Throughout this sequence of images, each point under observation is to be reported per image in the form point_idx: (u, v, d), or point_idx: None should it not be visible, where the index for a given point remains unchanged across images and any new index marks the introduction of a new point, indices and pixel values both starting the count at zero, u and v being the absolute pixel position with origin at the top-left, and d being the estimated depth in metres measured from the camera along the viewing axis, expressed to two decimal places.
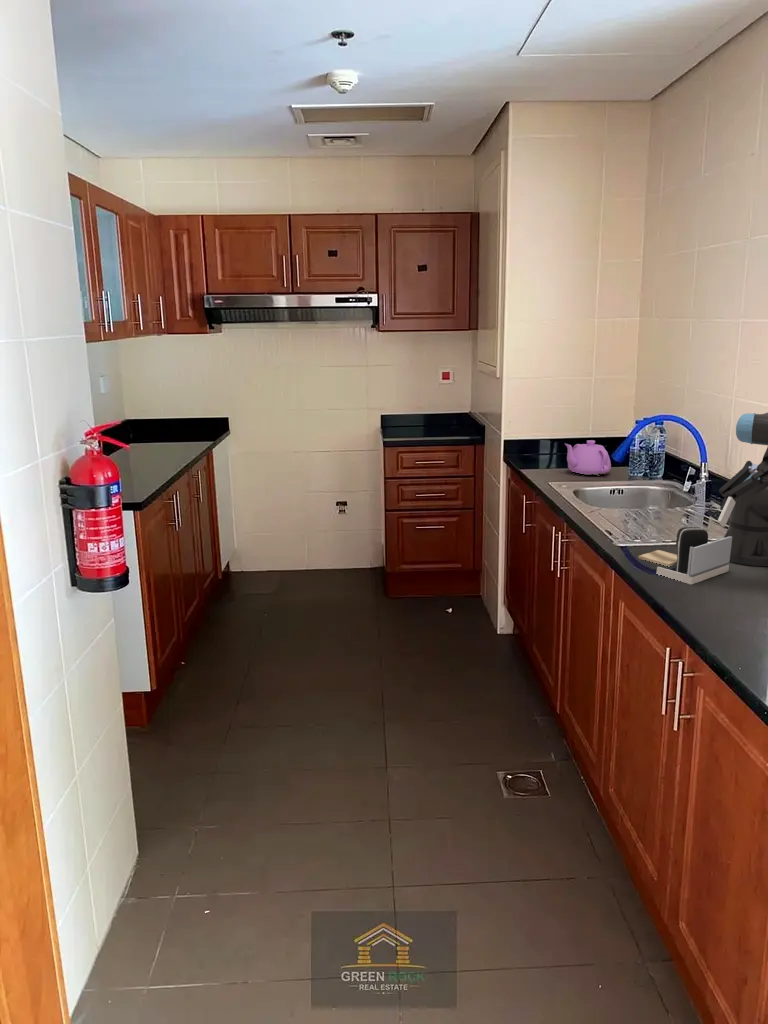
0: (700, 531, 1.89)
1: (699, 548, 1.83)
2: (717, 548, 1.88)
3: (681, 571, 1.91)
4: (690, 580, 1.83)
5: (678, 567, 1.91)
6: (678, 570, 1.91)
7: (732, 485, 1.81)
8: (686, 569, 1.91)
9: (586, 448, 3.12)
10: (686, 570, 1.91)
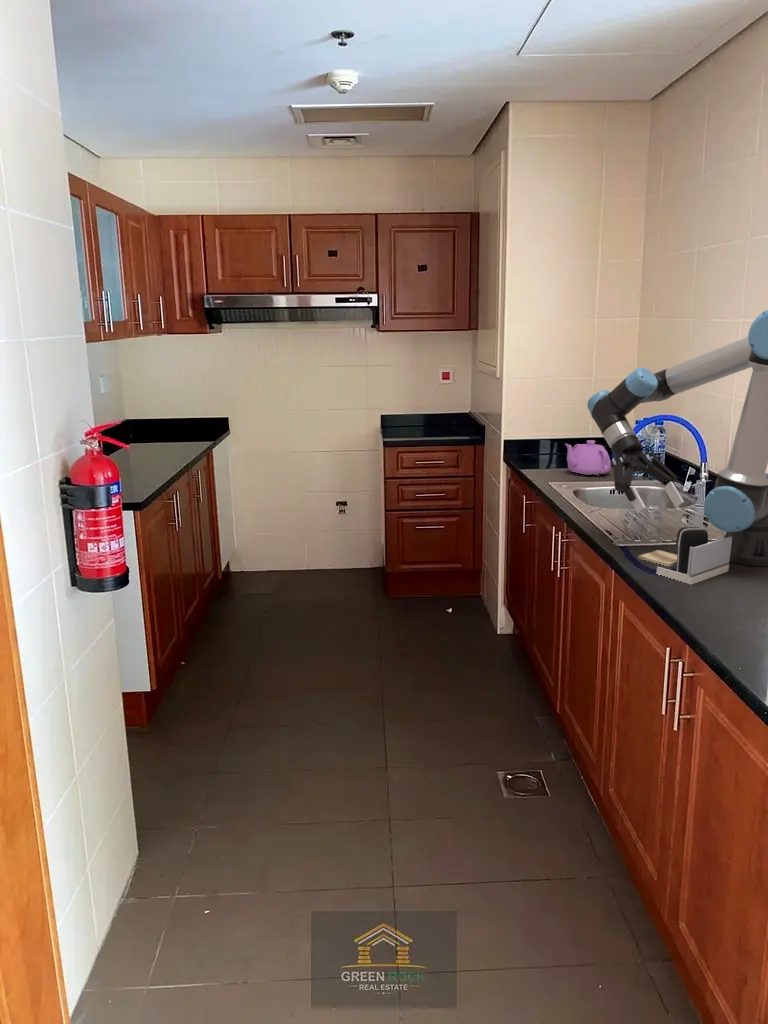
0: (700, 531, 1.89)
1: (699, 548, 1.83)
2: (717, 548, 1.88)
3: (681, 571, 1.91)
4: (690, 580, 1.83)
5: (678, 567, 1.91)
6: (678, 570, 1.91)
7: None
8: (686, 569, 1.91)
9: (586, 448, 3.12)
10: (686, 570, 1.91)
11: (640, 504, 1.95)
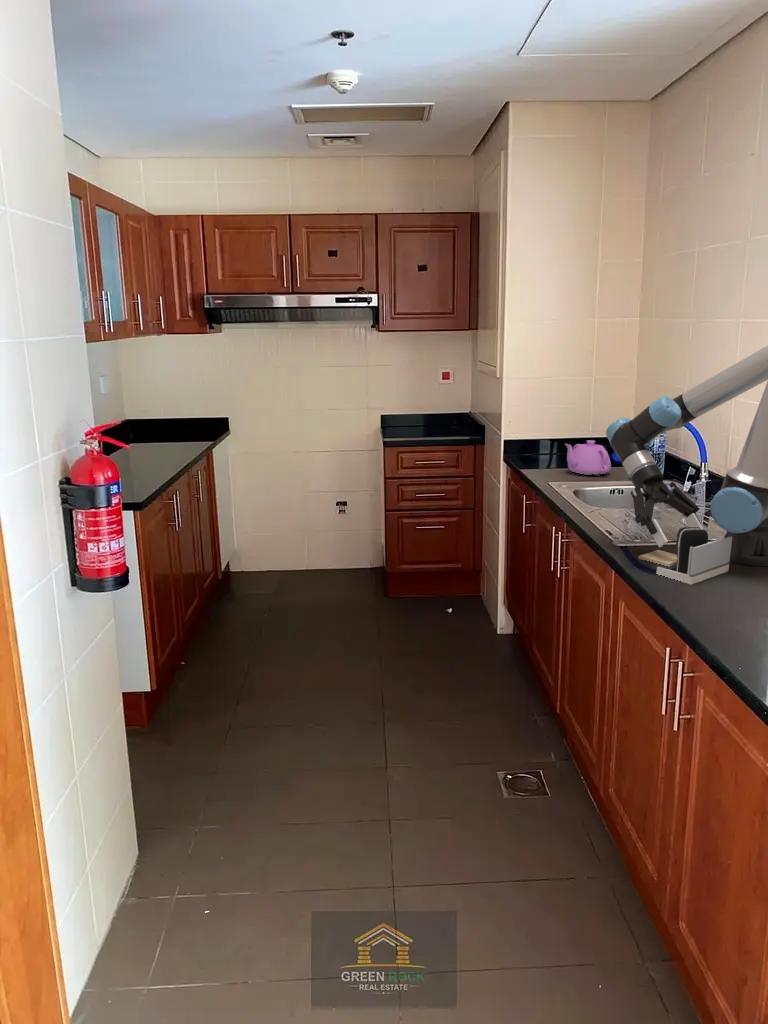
0: (700, 531, 1.89)
1: (699, 548, 1.83)
2: (717, 548, 1.88)
3: (681, 571, 1.91)
4: (690, 580, 1.83)
5: (678, 567, 1.91)
6: (678, 570, 1.91)
7: None
8: (686, 569, 1.91)
9: (586, 448, 3.12)
10: (686, 570, 1.91)
11: (662, 538, 1.89)
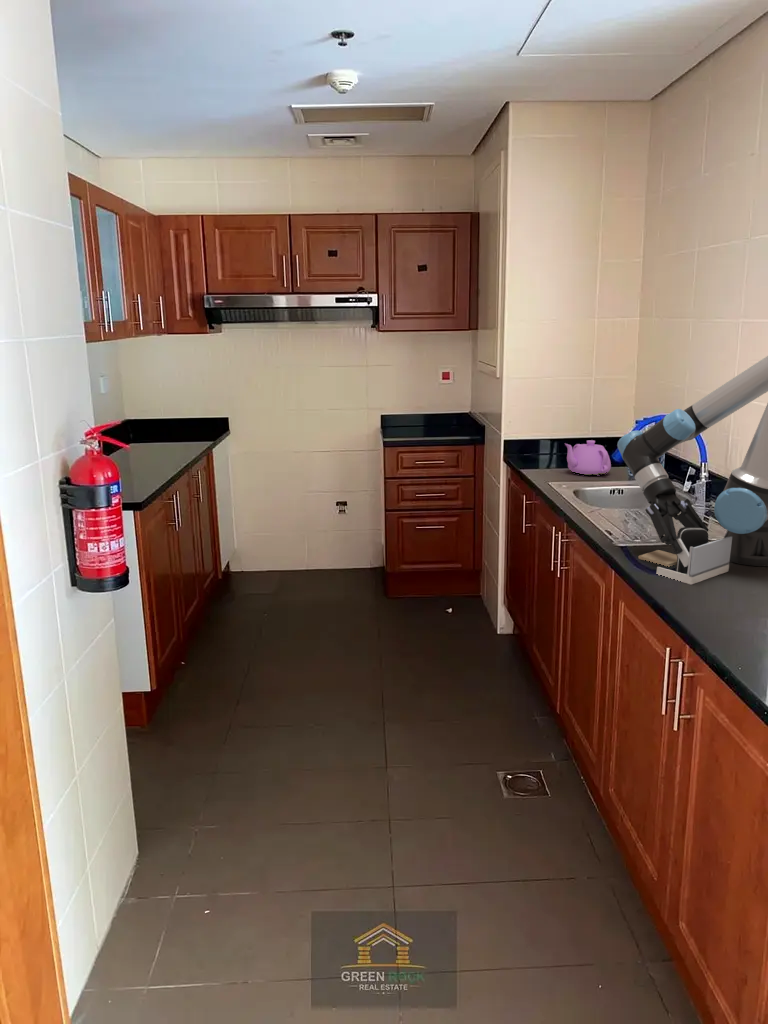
0: (700, 531, 1.89)
1: (699, 548, 1.83)
2: (717, 548, 1.88)
3: (681, 571, 1.91)
4: (690, 580, 1.83)
5: (678, 567, 1.91)
6: (678, 570, 1.91)
7: None
8: (686, 569, 1.91)
9: (586, 448, 3.12)
10: (686, 570, 1.91)
11: (687, 557, 1.87)
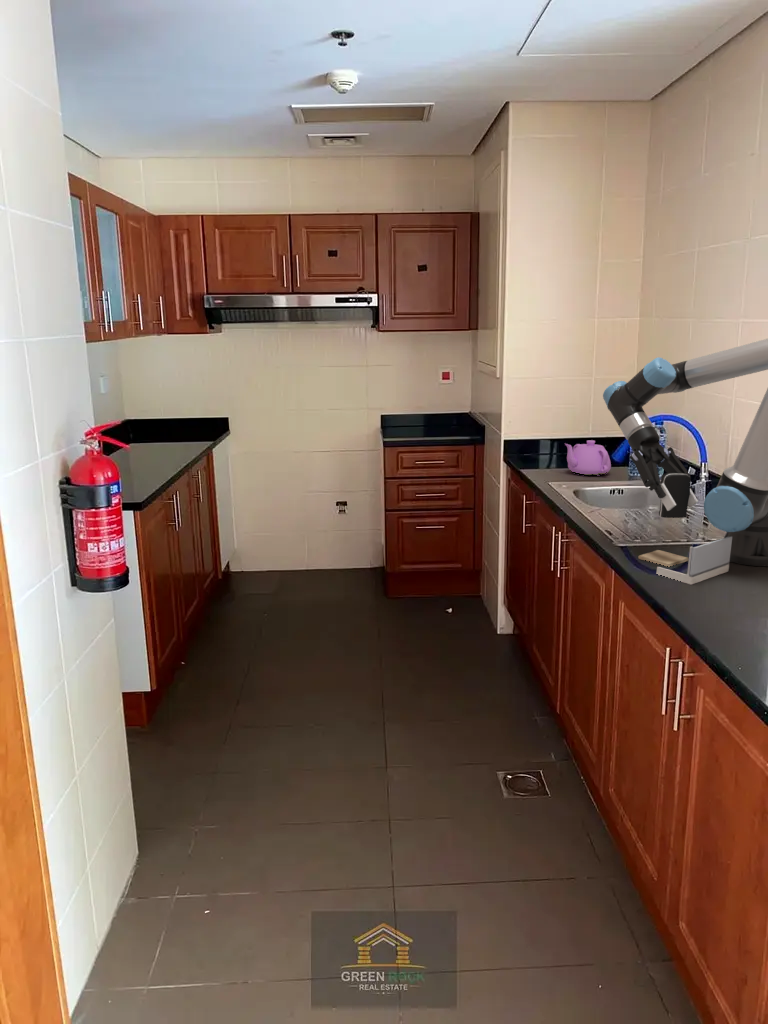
0: (683, 476, 1.94)
1: (699, 548, 1.83)
2: (717, 548, 1.88)
3: (664, 515, 1.96)
4: (690, 580, 1.83)
5: (661, 511, 1.96)
6: (661, 514, 1.96)
7: None
8: (669, 513, 1.96)
9: (586, 448, 3.12)
10: (669, 514, 1.96)
11: (670, 501, 1.92)
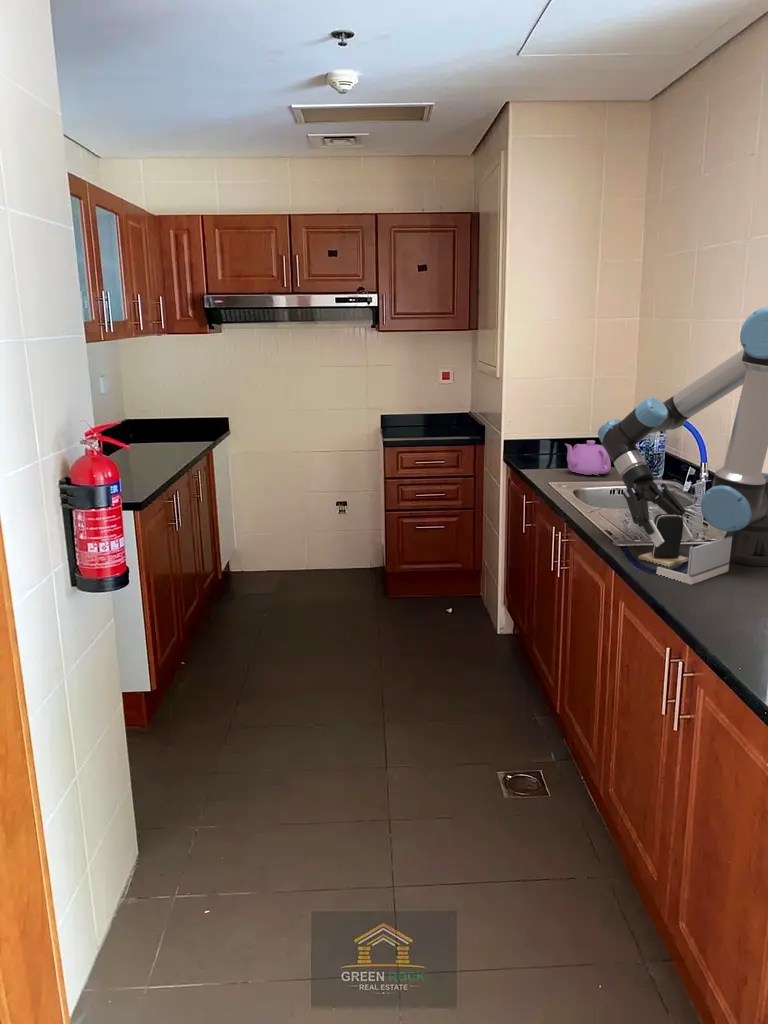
0: (676, 518, 1.98)
1: (699, 548, 1.83)
2: (717, 548, 1.88)
3: (657, 555, 2.00)
4: (690, 580, 1.83)
5: (654, 552, 2.01)
6: (654, 554, 2.01)
7: None
8: (662, 554, 2.00)
9: (586, 448, 3.12)
10: (662, 555, 2.00)
11: (659, 538, 1.96)
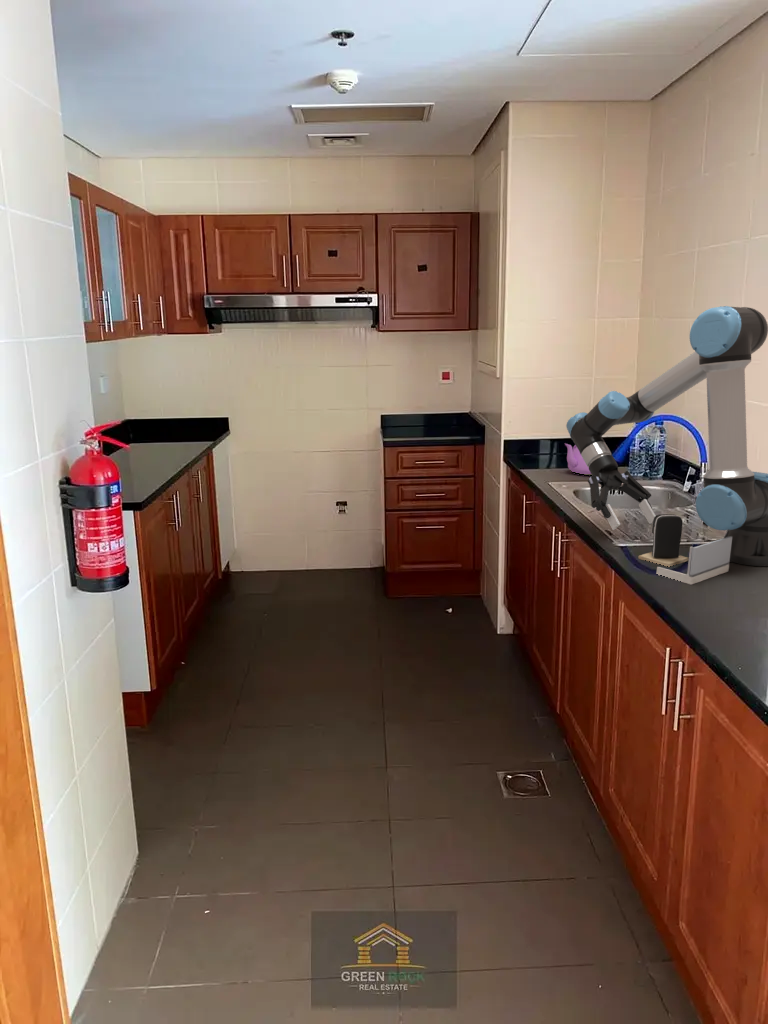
0: (675, 518, 1.98)
1: (699, 548, 1.83)
2: (717, 548, 1.88)
3: (657, 556, 2.00)
4: (690, 580, 1.83)
5: (654, 552, 2.01)
6: (654, 555, 2.01)
7: None
8: (662, 554, 2.00)
9: None
10: (662, 555, 2.00)
11: (615, 521, 2.07)
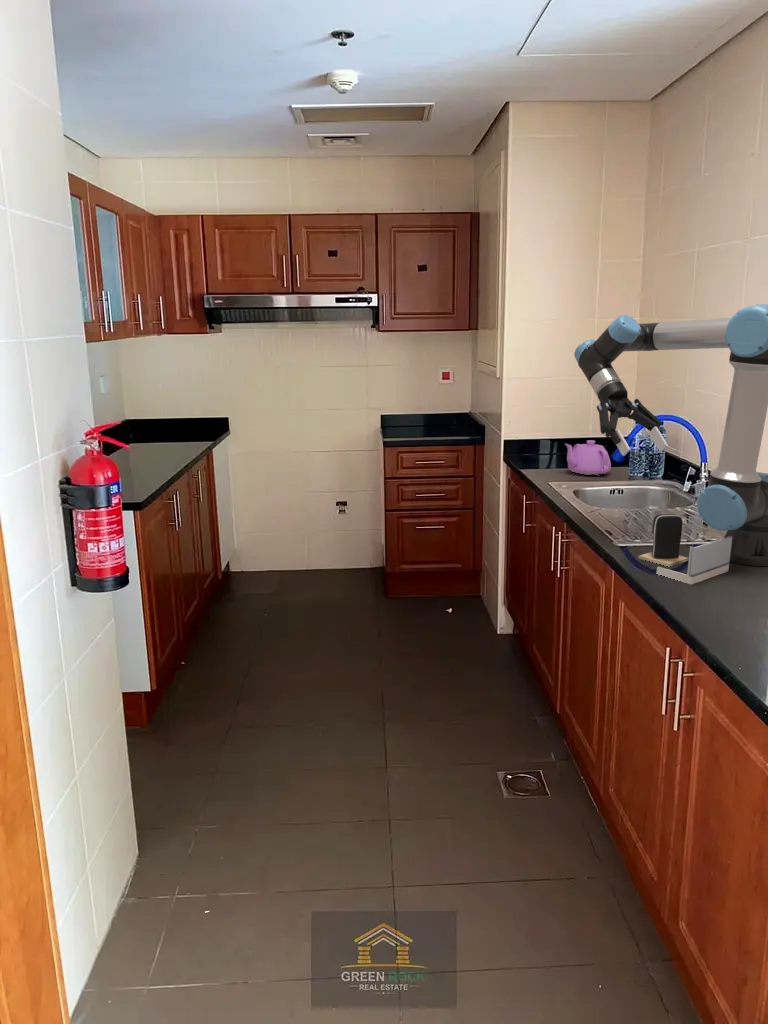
0: (675, 518, 1.98)
1: (699, 548, 1.83)
2: (717, 548, 1.88)
3: (657, 556, 2.00)
4: (690, 580, 1.83)
5: (654, 552, 2.01)
6: (654, 555, 2.01)
7: None
8: (662, 554, 2.00)
9: (586, 448, 3.12)
10: (662, 555, 2.00)
11: (625, 446, 2.00)
